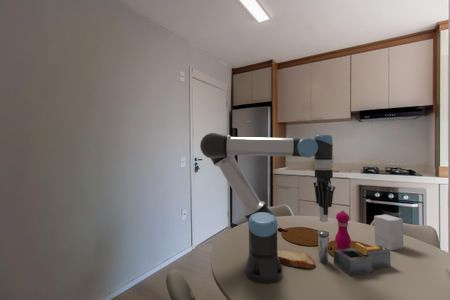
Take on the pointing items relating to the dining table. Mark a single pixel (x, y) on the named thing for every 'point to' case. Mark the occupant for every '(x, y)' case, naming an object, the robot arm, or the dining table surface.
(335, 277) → the dining table surface
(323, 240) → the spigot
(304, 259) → the bread slice
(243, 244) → the dining table surface
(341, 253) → the dock
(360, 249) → the lock pin
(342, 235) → the pepper mill
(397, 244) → the supplement box
